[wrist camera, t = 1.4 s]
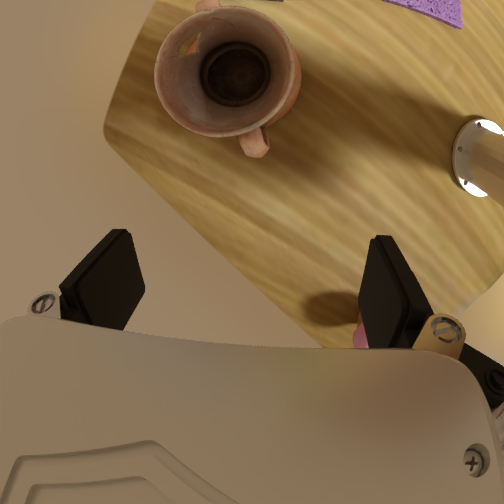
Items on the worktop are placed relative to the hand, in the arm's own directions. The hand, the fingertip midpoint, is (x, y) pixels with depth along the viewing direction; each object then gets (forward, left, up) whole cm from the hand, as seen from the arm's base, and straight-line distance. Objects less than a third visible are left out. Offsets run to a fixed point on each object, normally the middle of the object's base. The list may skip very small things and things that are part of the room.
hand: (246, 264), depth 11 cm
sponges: (-19, -26, -31) cm, 44 cm away
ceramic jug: (+4, -7, -30) cm, 31 cm away
